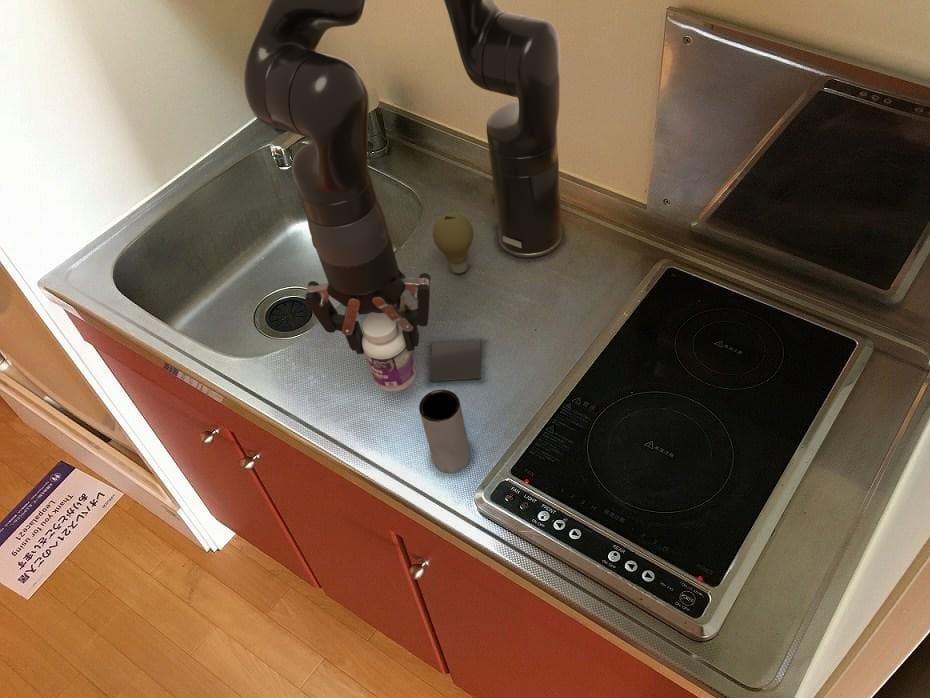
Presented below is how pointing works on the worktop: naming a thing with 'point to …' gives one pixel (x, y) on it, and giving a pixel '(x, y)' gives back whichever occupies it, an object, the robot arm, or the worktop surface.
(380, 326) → the pill bottle
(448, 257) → the light bulb
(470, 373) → the metal coaster
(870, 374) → the worktop surface
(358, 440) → the worktop surface
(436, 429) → the grey hollow cylinder
